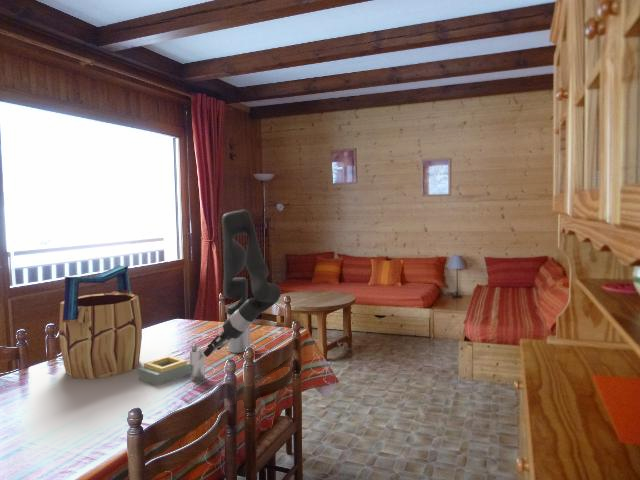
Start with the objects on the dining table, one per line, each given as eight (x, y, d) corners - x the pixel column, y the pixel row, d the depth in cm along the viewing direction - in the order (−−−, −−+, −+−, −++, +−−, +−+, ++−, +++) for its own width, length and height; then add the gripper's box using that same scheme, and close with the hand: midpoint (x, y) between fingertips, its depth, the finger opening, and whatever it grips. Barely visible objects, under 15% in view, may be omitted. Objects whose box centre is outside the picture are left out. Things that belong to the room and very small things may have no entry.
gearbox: (182, 364, 194) (181, 351, 194) (200, 370, 187) (200, 356, 187) (138, 378, 178) (137, 364, 178) (157, 385, 171) (156, 370, 171)
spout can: (199, 375, 181) (197, 341, 180) (207, 378, 178) (206, 343, 177) (188, 379, 177) (186, 344, 176) (196, 382, 174) (195, 347, 173)
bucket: (97, 352, 213) (93, 265, 211) (161, 354, 209) (157, 265, 206) (33, 383, 175) (27, 277, 172) (109, 387, 170) (104, 278, 168)
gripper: (240, 311, 178) (214, 338, 182) (222, 319, 165) (194, 349, 169) (253, 325, 177) (226, 353, 181) (236, 335, 164) (208, 365, 168)
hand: (211, 351), depth 175 cm, fingers open, 8 cm apart
